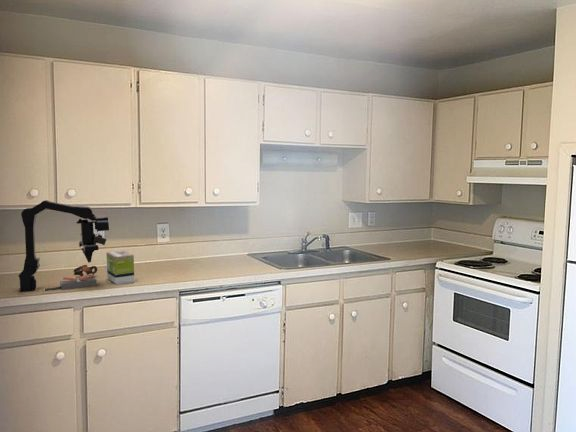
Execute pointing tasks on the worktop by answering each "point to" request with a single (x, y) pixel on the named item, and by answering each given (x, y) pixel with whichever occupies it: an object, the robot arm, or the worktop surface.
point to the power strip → (75, 284)
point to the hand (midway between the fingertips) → (89, 262)
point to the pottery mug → (85, 270)
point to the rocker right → (86, 276)
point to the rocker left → (69, 278)
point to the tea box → (120, 267)
